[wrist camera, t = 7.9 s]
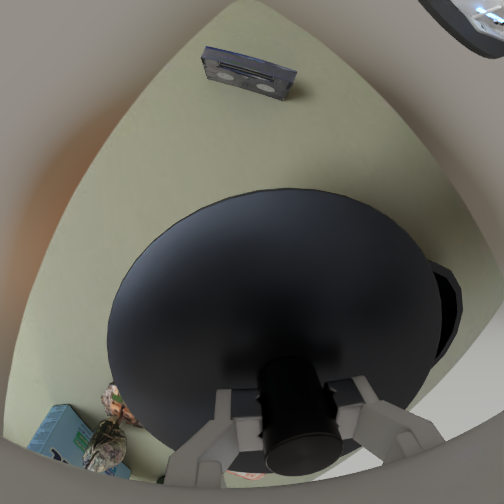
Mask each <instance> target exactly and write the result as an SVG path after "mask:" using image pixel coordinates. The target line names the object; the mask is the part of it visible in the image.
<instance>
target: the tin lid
mask: <svg viewBox="0 0 504 504" xmlns="http://www.w3.org/2000/svg"><path fill="white" fill-rule="evenodd" d="M441 322H442V314H441V300H440V295H439V290H438V285H437V282H436V279H435V276H434V274H433V271H432V269H431V266H430V264H429V262H428V261H427V259H426V257H425V255H424V254H423V252H422V250H421V249H420V247H419V246H418V245H417V244H416V242H415V241H414V240H413V239H412V238H411V236H410V235H409V234H408V233H407V232H406V231H405V230H404V229H403V228H402V227H400V226H399V225H398V224H397V223H396V222H394V221H393V220H392V219H391V218H390V217H388V216H386V215H385V214H383V213H381V212H380V211H378V210H376V209H375V208H373V207H371V206H370V205H367V204H365V203H362V202H360V201H357V200H355V199H352V198H349V197H347V196H344V195H340V194H335V193H330V192H326V191H321V190H315V189H301V188H276V189H265V190H256V191H252V192H247V193H243V194H239V195H235V196H231V197H228V198H225V199H222V200H220V201H217V202H215V203H212V204H210V205H207V206H205V207H202V208H200V209H199V210H197V211H195V212H194V213H192V214H190V215H188V216H187V217H185V218H183V219H181V220H180V221H178V222H177V223H175V224H174V225H172V226H171V227H170V228H169V229H167V230H166V231H165V232H164V233H162V234H161V235H160V236H159V237H158V238H156V239H155V240H154V241H153V242H152V243H151V244H150V245H149V246H148V247H147V248H146V249H145V250H144V252H143V253H142V254H141V255H140V256H139V257H138V258H137V259H136V260H135V262H134V263H133V265H132V267H131V268H130V270H129V271H128V273H127V274H126V276H125V277H124V279H123V280H122V283H121V285H120V287H119V289H118V292H117V294H116V296H115V299H114V301H113V305H112V309H111V313H110V317H109V321H108V332H107V350H108V360H109V365H110V369H111V372H112V376H113V380H114V382H115V384H116V387H117V389H118V391H119V394H120V396H121V397H122V399H123V401H124V402H125V404H126V406H127V407H128V409H129V410H130V412H131V413H132V414H133V415H134V417H135V418H136V419H137V420H138V422H139V423H140V424H141V425H142V426H143V427H144V428H145V429H146V430H147V431H148V432H149V433H151V434H152V435H153V436H154V437H155V438H157V439H158V440H159V441H161V442H162V443H163V444H165V445H166V446H168V447H169V448H171V449H173V450H174V451H177V450H178V449H179V448H180V447H181V446H182V445H183V444H184V443H186V442H187V441H188V440H189V439H190V438H191V437H192V436H193V435H194V434H196V433H197V432H198V431H199V430H200V429H201V428H202V427H203V426H204V425H205V424H206V423H207V422H208V421H209V420H214V415H215V403H216V392H217V389H231V390H232V389H254V388H259V390H260V404H261V409H262V423H263V431H262V441H263V450H257V451H243V452H239V454H238V455H237V457H236V458H235V459H234V461H233V462H232V463H231V465H230V466H229V467H228V469H227V470H229V471H235V472H243V473H261V474H266V473H276V474H279V475H283V476H303V475H308V474H312V473H316V472H318V471H321V470H323V469H325V468H327V467H329V466H330V465H332V464H333V463H334V462H336V461H337V460H338V459H339V457H342V456H344V455H346V454H348V453H350V452H352V451H354V450H356V449H357V448H359V447H361V446H362V445H360V444H359V443H358V442H356V441H355V440H354V439H353V438H349V439H344V440H342V437H341V435H340V432H339V429H338V427H337V424H336V422H335V419H334V416H333V414H332V411H331V409H330V406H329V403H328V401H327V398H326V396H325V393H324V390H323V386H324V383H325V382H327V381H334V380H340V379H346V378H350V377H355V376H360V375H363V376H365V378H366V379H367V381H368V382H369V384H370V386H371V387H372V389H373V391H374V392H375V394H376V395H377V397H378V399H379V400H380V401H381V400H384V401H386V402H388V403H391V404H393V405H395V406H397V407H399V408H401V409H404V410H405V409H406V408H407V407H408V405H409V404H410V403H411V402H412V400H413V399H414V398H415V396H416V395H417V393H418V392H419V390H420V388H421V387H422V385H423V383H424V382H425V380H426V378H427V376H428V374H429V372H430V369H431V367H432V364H433V361H434V359H435V356H436V353H437V348H438V344H439V340H440V333H441Z"/></svg>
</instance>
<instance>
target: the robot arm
mask: <svg viewBox="0 0 504 504" xmlns="http://www.w3.org/2000/svg"><path fill="white" fill-rule="evenodd" d="M450 1H451V2H452V3H453V4H454V5H455V6H456V7H457V8H458V9H459V10H460V11H461V12H462V13H463V14H464V15H465V16H466V17H467V19H468V20H469V22H470V23H471V24H472V26H473V27H474V28H475V30H476V31H477V32H479V33H482V34H485V35H487V36H490V37H493V38H495V39H498V40H500V41H503V42H504V0H450ZM323 390H324V393H325V396H326V398H327V401H328V403H329V406H330V409H331V411H332V414H333V416H334V419H335V422H336V424H337V427H338V429H339V432H340V435H341V437H342V440H344V439H349V438H353V439H354V440H355V441H356V442H358V443H359V444H360V445H362V446H363V447H364V448H366V449H367V450H369V451H370V452H371V453H373V454H374V455H375V456H377V457H378V458H380V459H381V460H382V461H384V462H383V464H382V466H379V467H375V468H372V469H368V470H364V471H361V472H357V473H353V474H349V475H344V476H339V477H334V478H330V479H324V480H318V481H312V482H306V483H298V484H290V485H281V486H270V487H255V488H226V484H225V479H224V475H223V474H224V473H225V471H226V470H227V469H228V467H229V466H230V465H231V463H232V462H233V461H234V459H235V458H236V457H237V455H238V454H239V452H243V451H257V450H263V441H262V431H263V423H262V409H261V404H260V390H259V388H254V389H232V390H231V389H217V392H216V403H215V415H214V420H209V421H208V422H207V423H206V424H205V425H204V426H203V427H202V428H201V429H200V430H199V431H198V432H197V433H196V434H194V435H193V436H192V437H191V438H190V439H189V440H188V441H187V442H186V443H184V444H183V445H182V446H181V447H180V448H179V449H178V450H177V451H175V452H174V453H173V454H172V455H171V456H170V457H169V460H168V464H167V469H166V474H165V479H164V484H155V483H148V482H142V481H136V480H130V479H125V478H120V477H115V476H111V475H107V474H102V473H98V472H94V471H91V470H87V469H83V468H80V467H77V466H73V465H70V464H67V463H64V462H61V461H58V460H55V459H52V458H50V457H47V456H44V455H42V454H39V453H37V452H34V451H32V450H29V449H27V448H25V447H22V446H20V445H18V444H16V443H14V442H12V441H10V440H8V439H6V438H4V437H2V436H0V504H504V411H502V412H501V413H499V414H497V415H496V416H494V417H492V418H491V419H489V420H487V421H485V422H484V423H482V424H480V425H478V426H476V427H474V428H472V429H471V430H469V431H467V432H465V433H463V434H461V435H459V436H457V437H455V438H452V439H451V440H448V441H446V442H445V440H444V439H443V437H442V436H441V434H440V433H439V432H438V430H437V429H436V427H435V426H434V425H433V423H432V422H431V421H428V420H426V419H424V418H421V417H419V416H416V415H414V414H412V413H410V412H408V411H406V410H404V409H401V408H399V407H397V406H395V405H393V404H391V403H388V402H386V401H384V400H381V401H380V400H379V399H378V397H377V395H376V394H375V392H374V391H373V389H372V387H371V386H370V384H369V382H368V381H367V379H366V378H365V376H363V375H360V376H355V377H350V378H346V379H340V380H334V381H327V382H325V383H324V386H323Z"/></svg>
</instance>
